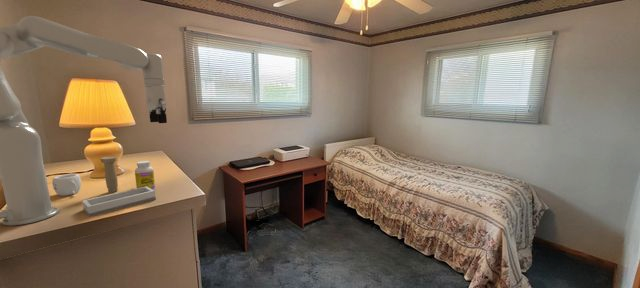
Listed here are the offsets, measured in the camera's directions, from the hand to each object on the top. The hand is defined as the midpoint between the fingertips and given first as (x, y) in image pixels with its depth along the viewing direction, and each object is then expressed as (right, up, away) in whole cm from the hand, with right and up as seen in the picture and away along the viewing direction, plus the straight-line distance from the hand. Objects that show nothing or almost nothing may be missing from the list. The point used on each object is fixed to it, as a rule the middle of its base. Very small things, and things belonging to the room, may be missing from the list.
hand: (158, 122), depth 114 cm
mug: (-33, -31, -7) cm, 46 cm away
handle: (-17, -30, -4) cm, 35 cm away
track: (-3, -32, -18) cm, 37 cm away
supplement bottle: (-4, -30, -3) cm, 31 cm away
